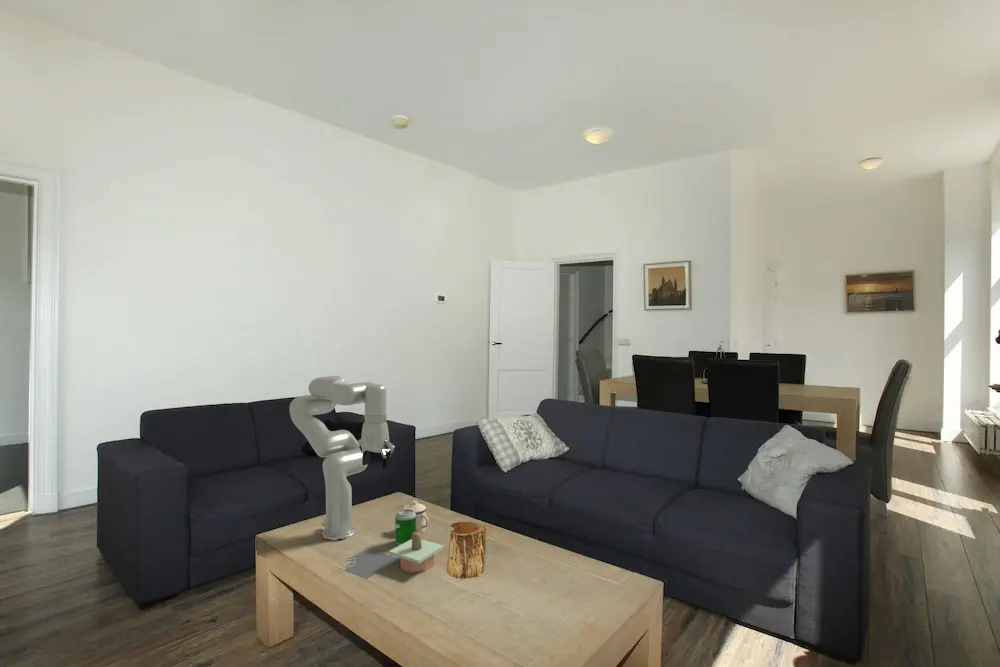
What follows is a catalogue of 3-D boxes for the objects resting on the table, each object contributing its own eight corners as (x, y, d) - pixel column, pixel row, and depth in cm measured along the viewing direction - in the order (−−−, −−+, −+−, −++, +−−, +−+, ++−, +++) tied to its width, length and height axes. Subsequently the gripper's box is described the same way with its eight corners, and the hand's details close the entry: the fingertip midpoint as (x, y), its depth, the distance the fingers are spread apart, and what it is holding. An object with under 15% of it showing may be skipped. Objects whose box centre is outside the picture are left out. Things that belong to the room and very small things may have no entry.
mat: (333, 567, 175) (333, 566, 175) (368, 550, 189) (368, 548, 189) (367, 580, 167) (367, 578, 167) (401, 560, 181) (401, 559, 181)
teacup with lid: (398, 531, 205) (397, 502, 205) (414, 524, 213) (414, 495, 212) (420, 539, 198) (419, 508, 198) (436, 531, 206) (436, 502, 205)
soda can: (418, 540, 198) (418, 508, 197) (413, 548, 190) (413, 516, 190) (398, 539, 198) (398, 508, 198) (392, 548, 191) (392, 515, 190)
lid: (388, 554, 175) (388, 536, 175) (414, 540, 186) (414, 523, 186) (418, 563, 168) (418, 545, 168) (443, 548, 179) (443, 531, 179)
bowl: (393, 568, 175) (393, 553, 175) (415, 555, 184) (415, 541, 184) (418, 577, 169) (418, 561, 169) (440, 563, 179) (440, 549, 179)
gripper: (350, 418, 190) (351, 465, 190) (385, 423, 181) (386, 472, 181) (366, 415, 196) (366, 460, 197) (400, 419, 187) (401, 467, 187)
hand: (375, 466), depth 189 cm, fingers open, 9 cm apart
